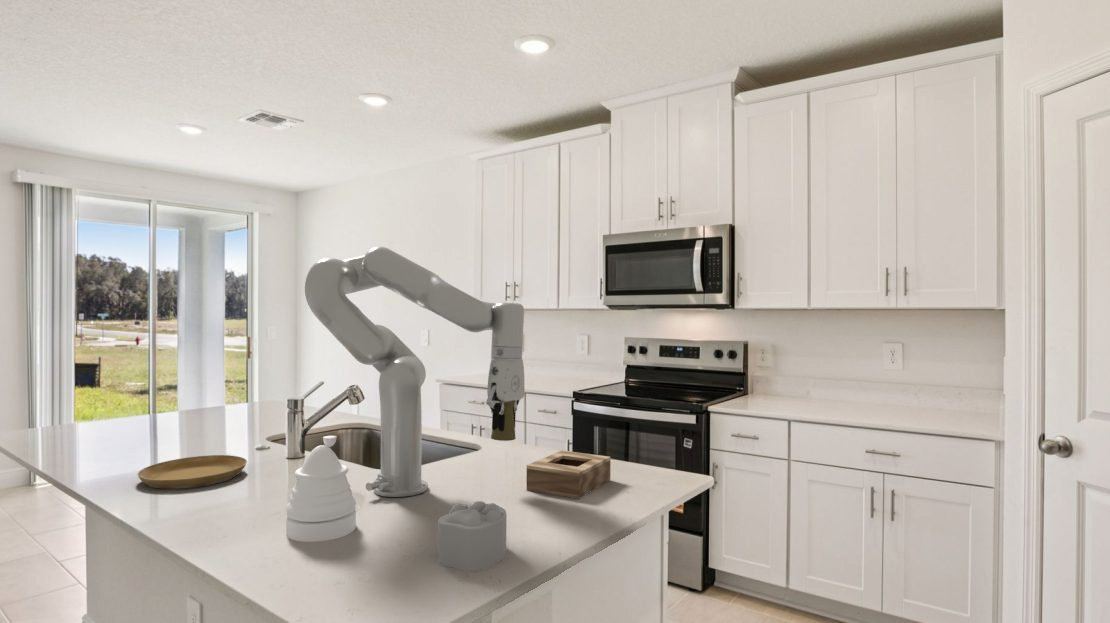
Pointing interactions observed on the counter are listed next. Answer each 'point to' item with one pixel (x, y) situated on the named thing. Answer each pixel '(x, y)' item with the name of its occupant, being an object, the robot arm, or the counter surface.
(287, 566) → the counter surface
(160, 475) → the plant saucer
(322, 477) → the honey pot
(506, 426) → the cork
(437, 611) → the counter surface
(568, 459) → the drop box
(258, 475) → the counter surface
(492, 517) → the lumpy-topped squat cylinder
